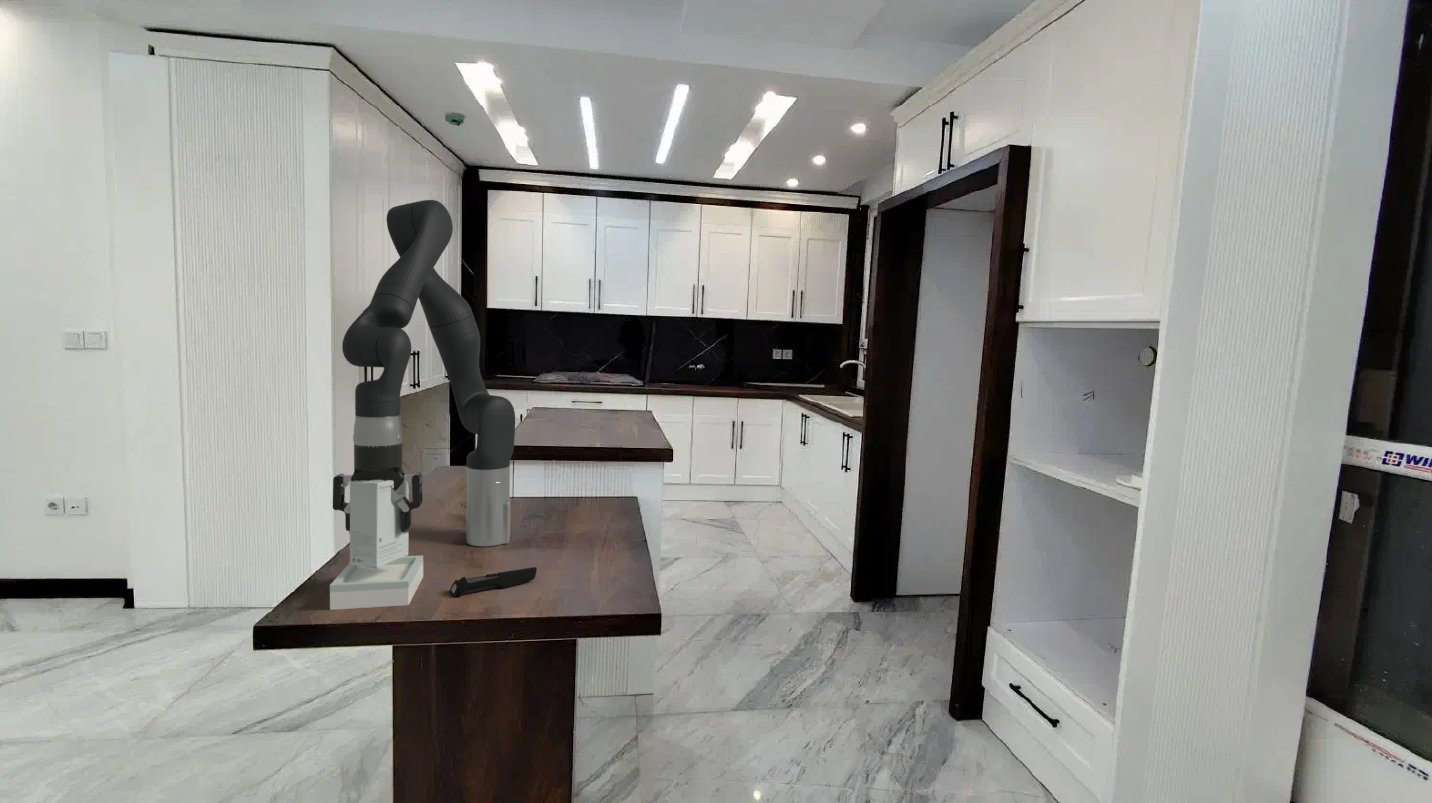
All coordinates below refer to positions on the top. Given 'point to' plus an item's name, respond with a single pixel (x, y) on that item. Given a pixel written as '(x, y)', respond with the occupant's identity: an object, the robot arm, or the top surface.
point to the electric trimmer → (492, 581)
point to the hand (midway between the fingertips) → (378, 532)
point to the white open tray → (377, 584)
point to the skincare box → (376, 523)
